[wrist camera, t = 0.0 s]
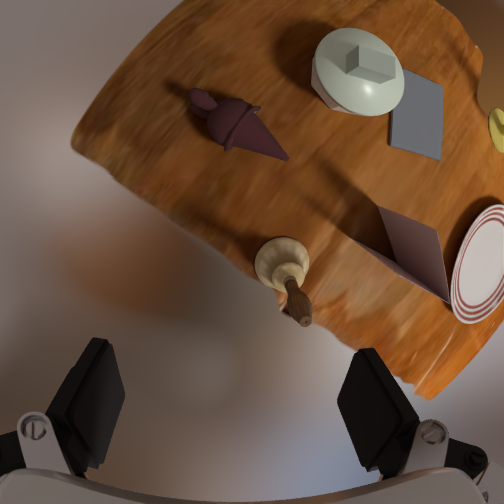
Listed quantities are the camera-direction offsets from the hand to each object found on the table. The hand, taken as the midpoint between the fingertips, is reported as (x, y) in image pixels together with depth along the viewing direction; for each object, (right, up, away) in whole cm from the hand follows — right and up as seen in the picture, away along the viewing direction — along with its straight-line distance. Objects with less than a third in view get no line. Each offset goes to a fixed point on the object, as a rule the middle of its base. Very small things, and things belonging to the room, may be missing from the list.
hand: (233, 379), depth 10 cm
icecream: (-1, +21, +26) cm, 34 cm away
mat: (+28, +27, +26) cm, 47 cm away
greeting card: (+20, +6, +33) cm, 39 cm away
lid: (+15, +28, +19) cm, 37 cm away
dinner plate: (+52, +2, +37) cm, 64 cm away
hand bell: (+5, +3, +33) cm, 33 cm away
